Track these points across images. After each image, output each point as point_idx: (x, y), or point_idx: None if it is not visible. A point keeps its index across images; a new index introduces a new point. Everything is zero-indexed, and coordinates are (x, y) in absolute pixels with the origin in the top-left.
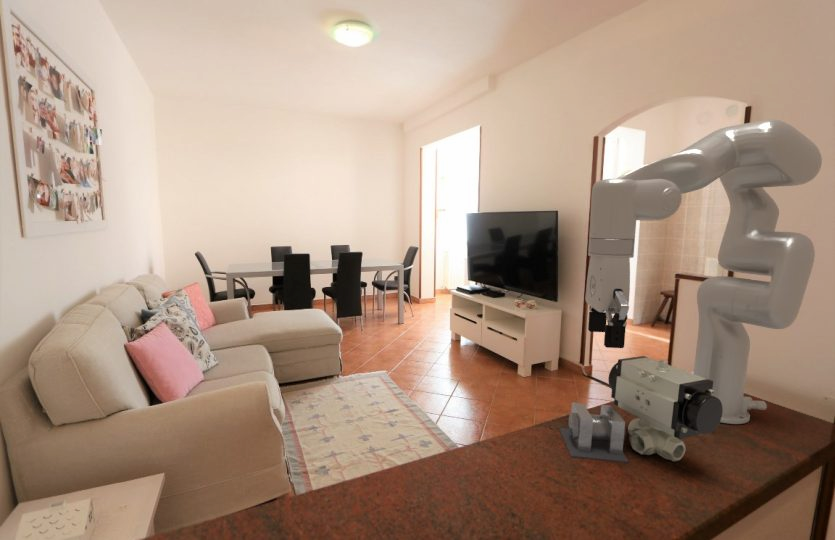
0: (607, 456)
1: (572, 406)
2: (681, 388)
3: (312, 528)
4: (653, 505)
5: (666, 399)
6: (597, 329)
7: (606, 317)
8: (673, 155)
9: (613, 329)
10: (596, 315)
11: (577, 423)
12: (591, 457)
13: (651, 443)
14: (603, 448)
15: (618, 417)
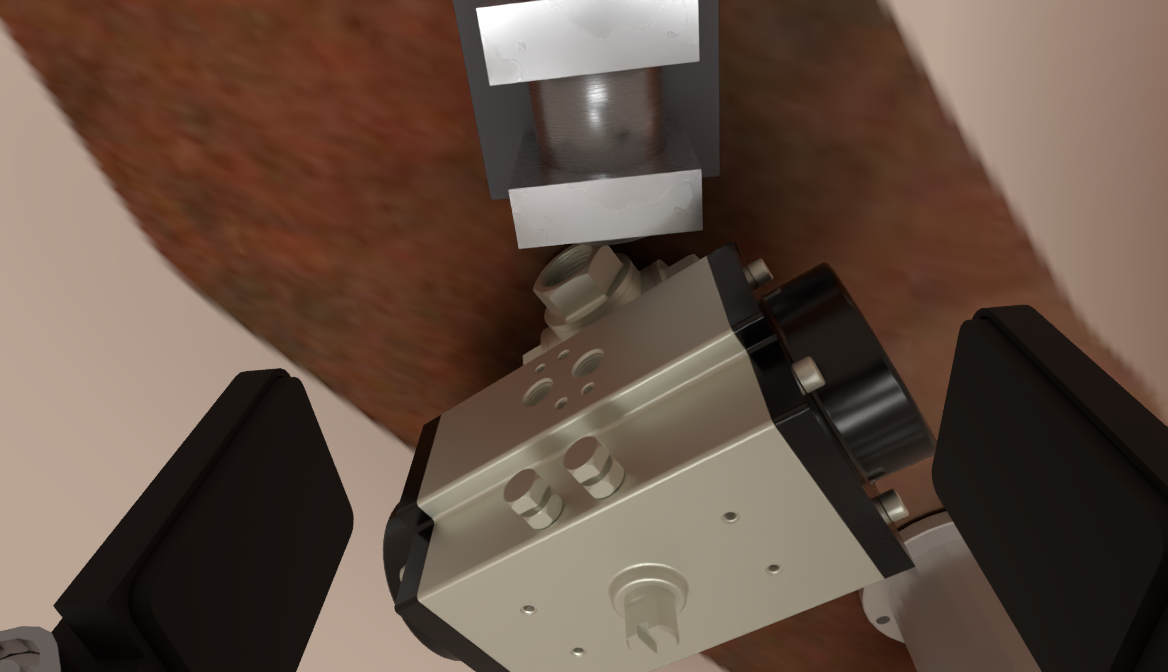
0: (498, 121)
1: None
2: (408, 587)
3: None
4: (251, 214)
5: (446, 484)
6: (962, 421)
7: (1049, 664)
8: None
9: (65, 631)
10: (1097, 578)
11: None
12: (461, 45)
13: (555, 313)
14: None
15: (561, 228)
